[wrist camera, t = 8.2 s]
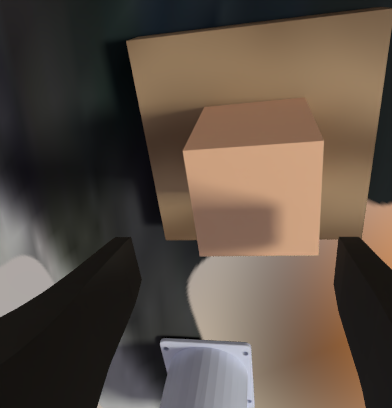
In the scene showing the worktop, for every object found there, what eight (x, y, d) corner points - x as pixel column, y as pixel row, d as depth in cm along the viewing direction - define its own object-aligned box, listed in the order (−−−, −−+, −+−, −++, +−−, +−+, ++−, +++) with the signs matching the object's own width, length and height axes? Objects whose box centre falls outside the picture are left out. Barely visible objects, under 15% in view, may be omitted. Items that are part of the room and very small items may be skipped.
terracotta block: (303, 187, 20) (318, 255, 14) (214, 191, 21) (200, 256, 15) (304, 97, 17) (323, 140, 12) (204, 106, 18) (182, 150, 13)
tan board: (353, 220, 22) (361, 239, 21) (172, 223, 25) (165, 239, 23) (380, 6, 16) (394, 8, 15) (138, 36, 19) (126, 41, 17)
